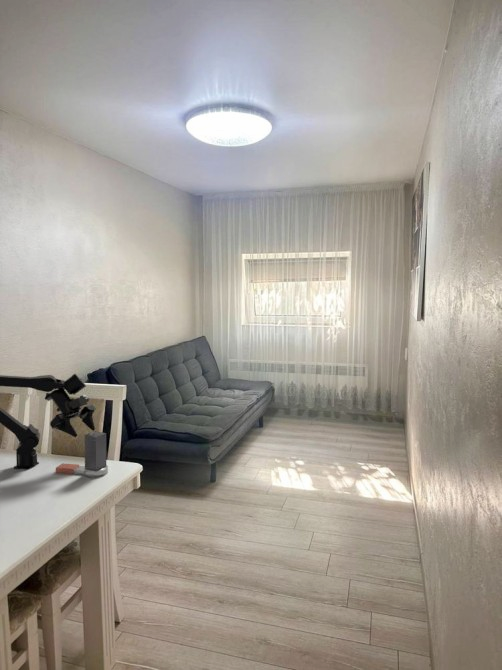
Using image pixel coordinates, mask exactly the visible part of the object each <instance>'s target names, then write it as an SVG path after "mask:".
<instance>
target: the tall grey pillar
mask: <svg viewBox="0 0 502 670" xmlns="http://www.w3.org/2000/svg"><path fill="white" fill-rule="evenodd" d="M106 465H107V433H106V432H100V431H95V430H94V431H92V432H90V433H87V434H85V435H84V466H85V469H86V470H91V471H96V472H97V471H99V470H101V469H103V468H105V467H106Z"/></svg>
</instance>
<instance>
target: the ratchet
mask: <svg viewBox="0 0 502 670" xmlns="http://www.w3.org/2000/svg"><path fill="white" fill-rule="evenodd" d="M108 468H109V467H108V465H107V464H106V467H105V468H103V469H101V470H99V471H97V472H96V471H91V470H86V469H85V465H80V464H76V463H75V464H74V463H64V462H63V463H61V464H59V465H58V466H56V467H55V473H58V474H71V475H73V474H75V475H83V476H84V477H86V478H91V479H92V478H94V479H95V478H101V477H104V476H106V475H107V474H108V472H109V469H108Z"/></svg>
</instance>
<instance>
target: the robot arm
mask: <svg viewBox="0 0 502 670" xmlns="http://www.w3.org/2000/svg"><path fill="white" fill-rule="evenodd" d="M0 387H8V388H9V387H12V388H30V389H32V390H33V389H34V390H36V391H40V392H45V397H44V400H46V401H48V402H49V401H50V402H51V400H52V401H53V403H54V405H55V406H56V407H57V409H56V412H59V413H58V414H55V416H54V417H53V418H52V420H50V422H49V425H50V428H51V429H52V430H54V429H56V431H62V432H64V433H65V434H68V435H70V436H72V437H74V438H77V437H78V434H77V432H76V429H74V427H73V425H72V424H71V420H72V419H76V418H79V419H81V422H82V423H83V424H85V426H86V427H88V428H89V429H90V430H91V431H92V432H95V430H96V428H95V424H94V420H93V414H94V413H95V411H96V407H95V406H94V404H89V405H88V402H89V401H90V399H89V397H88V396H87V395H86V394H82V395H80V396H79V397H77V398H74V397H73V398H71V396H70V395H73V396H75V395H77V393H79V392H80V391H82V390H83V389H85V388H86V387H87V385H86V383H85V382H84V381H83V379H82V378H80V376H79V375H78V374H77V373H74V374H72V375H71V376H70V377H68V378H67V379H66V380H63V379H60V378H59V379H58V378H56V377H55V376H54V375H52V374H45V375H38V376H21V375H20V376H19V375H5V374H4V375H2V374H1V375H0ZM85 405H86V406H85ZM83 406H84V407H83ZM82 407H83V408H82ZM0 424H1V425H2V426H3V427H5V429H7V430H9V431H10V432H11V433H12V434H13V435H15V437H16V439H17V440H18V441H19V443H18V445H17V448H16V449H15V452H16V457H15V458H16V459H15V460H16V465H15V466H13V469H17V470H19V469H20V470H30V469H32V468H34V467H35V466H37V465H38V464H39V463H40V462H39V461H38V454H37V450H36V449H35V448H36V447H38V445H39V443H40V439H41V433H40V432H39V429H38V428H36V427H35V426H33V424H32V423H29V425H28V426H27V425H25V424H23V423H22V422H20V421H19V420H17V419H16V418H15V417H14V416H12V415H11V414H10V413H8V412H7V411H6V410H5V409H4V408H2V407H1V406H0Z"/></svg>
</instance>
